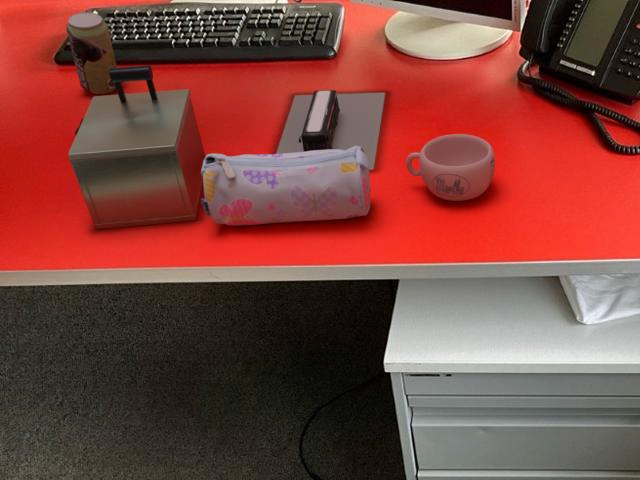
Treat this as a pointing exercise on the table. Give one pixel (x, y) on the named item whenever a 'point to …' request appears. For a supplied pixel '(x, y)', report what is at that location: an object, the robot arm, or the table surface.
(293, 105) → the flat grey base plate
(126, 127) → the freezer lid
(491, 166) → the mug
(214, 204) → the pencil case
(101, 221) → the box
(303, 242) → the table surface
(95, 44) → the beverage can
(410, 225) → the table surface
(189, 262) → the table surface
